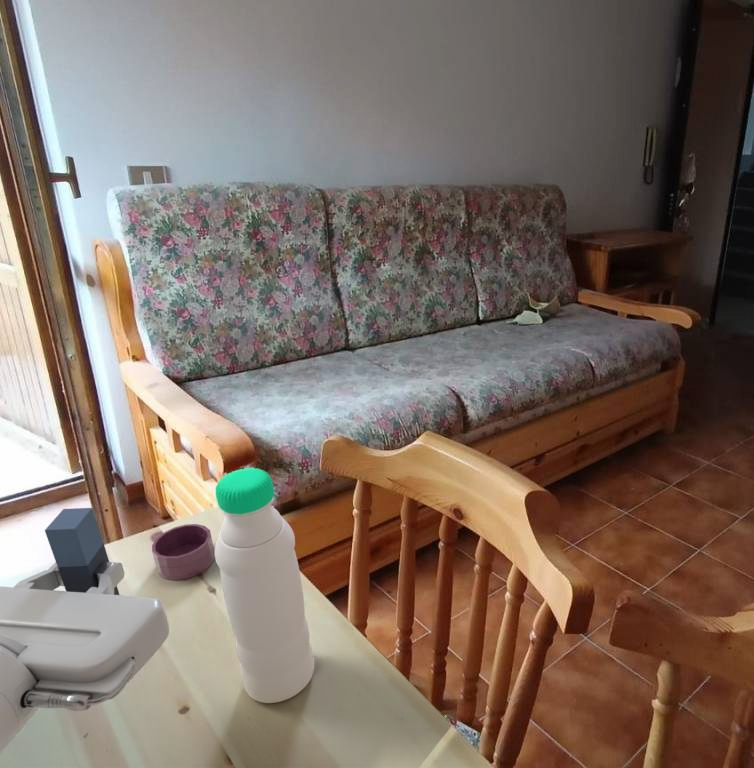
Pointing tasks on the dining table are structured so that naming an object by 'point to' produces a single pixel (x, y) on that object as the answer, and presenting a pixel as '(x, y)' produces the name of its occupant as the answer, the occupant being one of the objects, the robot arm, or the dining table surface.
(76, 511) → the eraser
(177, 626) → the dining table surface
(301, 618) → the water bottle
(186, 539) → the bowl
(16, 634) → the robot arm
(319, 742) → the dining table surface
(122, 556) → the dining table surface
